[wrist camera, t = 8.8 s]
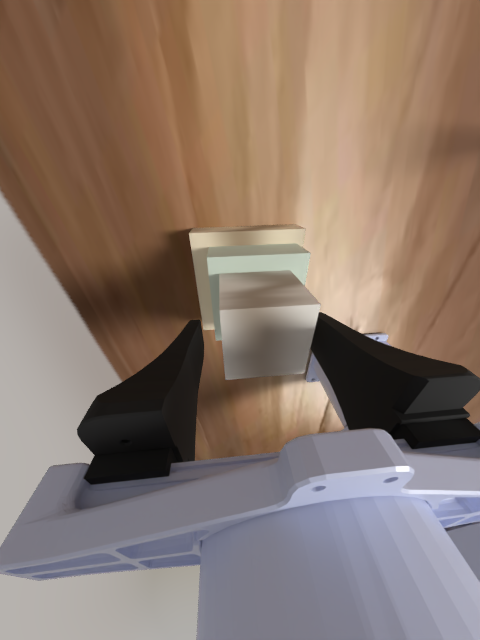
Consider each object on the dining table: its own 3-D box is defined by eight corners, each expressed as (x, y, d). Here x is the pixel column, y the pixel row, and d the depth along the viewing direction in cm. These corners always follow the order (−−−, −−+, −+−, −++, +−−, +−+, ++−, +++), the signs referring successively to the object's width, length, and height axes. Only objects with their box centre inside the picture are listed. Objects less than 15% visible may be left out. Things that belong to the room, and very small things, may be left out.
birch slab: (293, 223, 18) (305, 228, 15) (283, 309, 23) (291, 324, 20) (193, 227, 17) (188, 233, 15) (205, 314, 22) (203, 329, 20)
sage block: (296, 243, 16) (310, 252, 13) (286, 316, 20) (296, 334, 17) (208, 246, 15) (206, 257, 13) (216, 321, 19) (215, 340, 17)
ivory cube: (290, 270, 14) (320, 304, 10) (283, 327, 17) (304, 373, 12) (219, 273, 14) (219, 310, 9) (223, 331, 16) (225, 379, 12)
